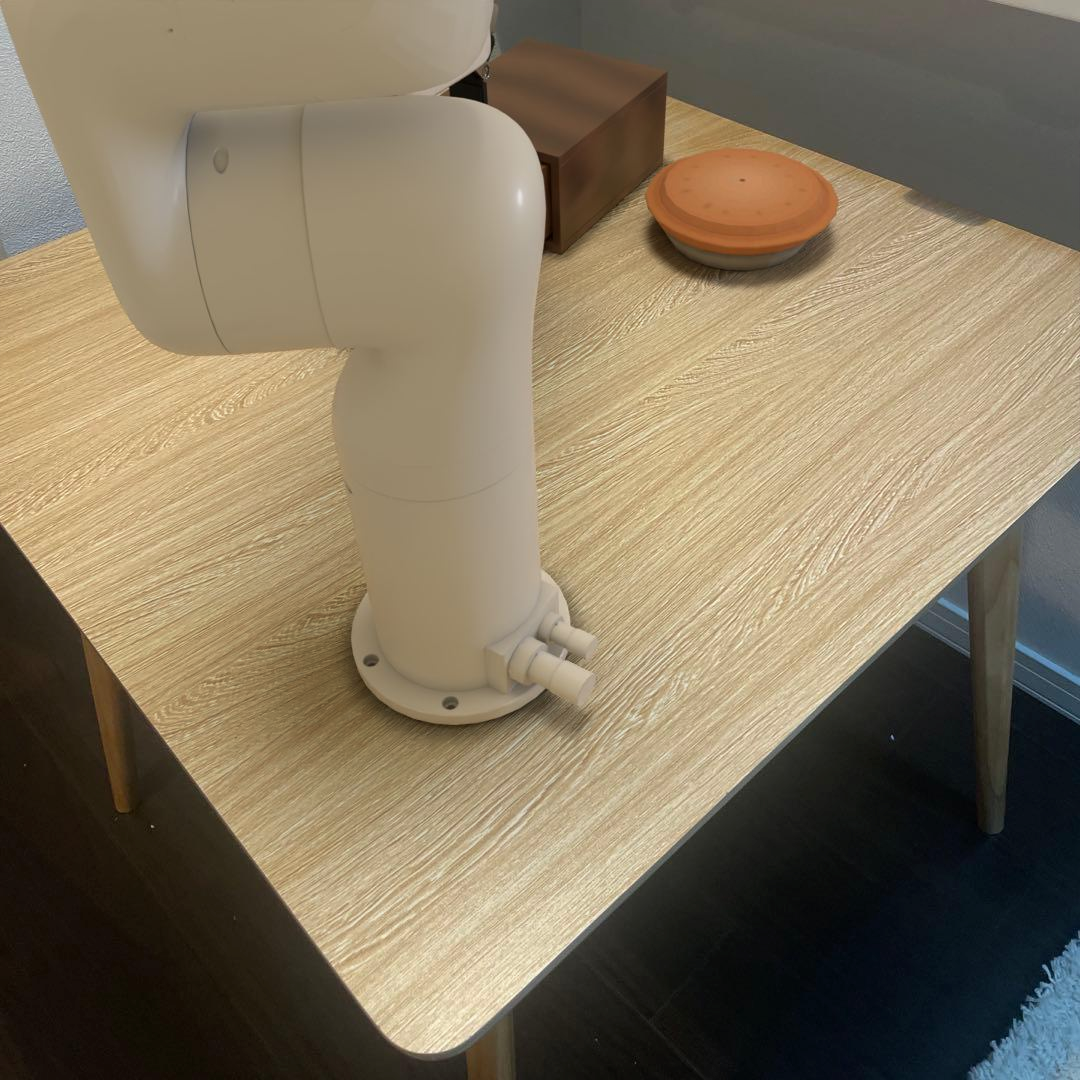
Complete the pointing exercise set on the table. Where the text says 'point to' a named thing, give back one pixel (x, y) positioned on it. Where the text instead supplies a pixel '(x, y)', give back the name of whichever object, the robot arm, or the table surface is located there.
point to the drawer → (547, 197)
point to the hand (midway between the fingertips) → (433, 155)
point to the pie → (740, 207)
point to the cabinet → (582, 126)
